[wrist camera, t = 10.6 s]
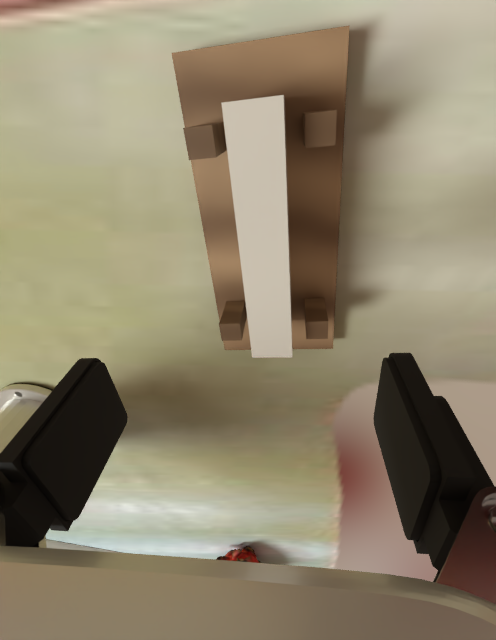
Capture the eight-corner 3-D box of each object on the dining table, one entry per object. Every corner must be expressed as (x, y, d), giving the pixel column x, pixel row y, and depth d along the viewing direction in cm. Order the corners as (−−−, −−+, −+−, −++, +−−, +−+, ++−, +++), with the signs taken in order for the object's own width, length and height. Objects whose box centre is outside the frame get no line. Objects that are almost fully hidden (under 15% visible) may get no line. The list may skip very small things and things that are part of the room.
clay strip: (291, 320, 28) (292, 357, 24) (257, 321, 28) (252, 357, 24) (284, 97, 19) (283, 94, 15) (235, 103, 20) (221, 102, 16)
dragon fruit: (239, 557, 63) (241, 518, 58) (273, 593, 58) (278, 553, 53) (206, 595, 58) (205, 556, 53) (241, 638, 53) (243, 599, 48)
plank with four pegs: (331, 338, 30) (337, 375, 26) (227, 340, 32) (218, 375, 28) (345, 31, 18) (361, 9, 14) (178, 56, 20) (149, 42, 16)
